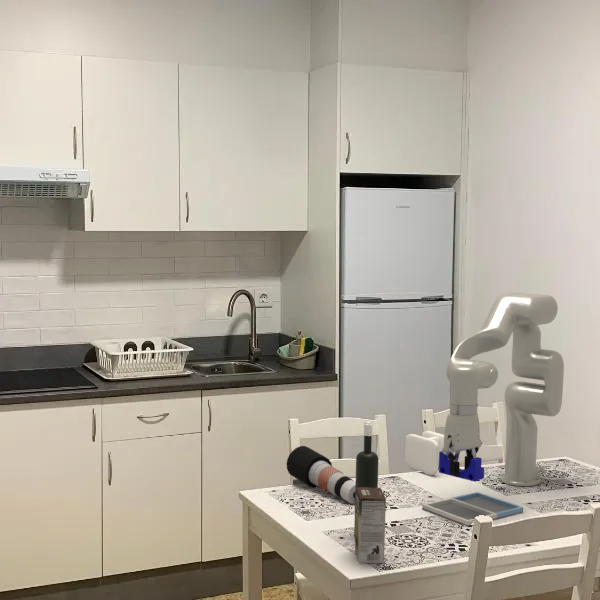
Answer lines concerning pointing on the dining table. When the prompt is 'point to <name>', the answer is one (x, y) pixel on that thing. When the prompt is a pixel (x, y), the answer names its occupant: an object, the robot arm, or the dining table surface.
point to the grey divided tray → (472, 508)
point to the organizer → (424, 451)
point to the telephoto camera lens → (320, 473)
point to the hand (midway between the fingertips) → (461, 472)
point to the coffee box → (370, 525)
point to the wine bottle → (366, 464)
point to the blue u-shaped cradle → (471, 473)
